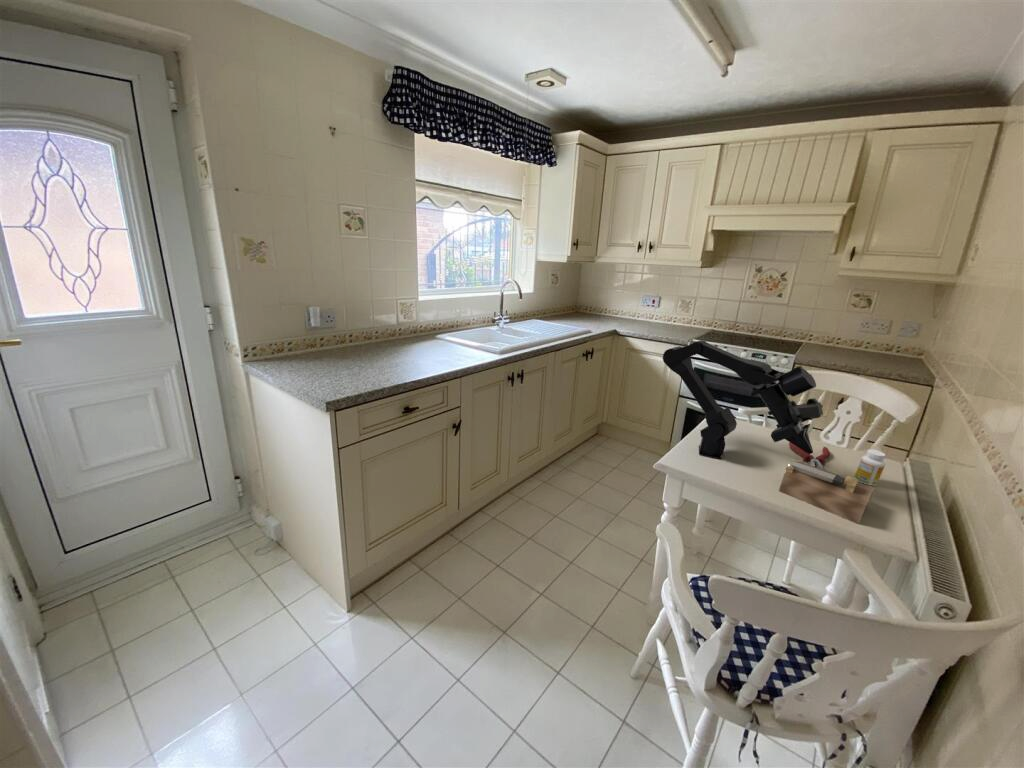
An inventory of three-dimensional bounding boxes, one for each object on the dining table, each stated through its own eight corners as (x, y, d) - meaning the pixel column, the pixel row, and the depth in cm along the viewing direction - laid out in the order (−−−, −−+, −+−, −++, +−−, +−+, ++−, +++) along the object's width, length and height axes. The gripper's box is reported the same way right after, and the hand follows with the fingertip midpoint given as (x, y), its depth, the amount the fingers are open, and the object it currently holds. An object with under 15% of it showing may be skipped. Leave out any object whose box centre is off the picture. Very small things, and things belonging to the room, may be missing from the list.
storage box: (777, 490, 117) (785, 465, 114) (790, 475, 125) (797, 452, 122) (858, 524, 104) (869, 496, 102) (867, 505, 112) (877, 479, 110)
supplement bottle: (872, 478, 126) (883, 450, 123) (880, 488, 121) (892, 458, 118) (851, 474, 128) (861, 446, 124) (858, 483, 123) (869, 454, 119)
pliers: (795, 470, 129) (797, 463, 128) (787, 444, 146) (789, 437, 145) (839, 481, 124) (842, 474, 123) (826, 453, 141) (828, 446, 141)
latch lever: (786, 468, 118) (787, 464, 117) (790, 463, 120) (791, 459, 120) (840, 486, 109) (842, 482, 109) (844, 481, 112) (845, 477, 111)
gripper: (797, 398, 106) (835, 453, 102) (816, 384, 118) (850, 433, 115) (756, 415, 114) (789, 467, 111) (777, 400, 126) (808, 447, 123)
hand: (811, 453), depth 114 cm, fingers closed
